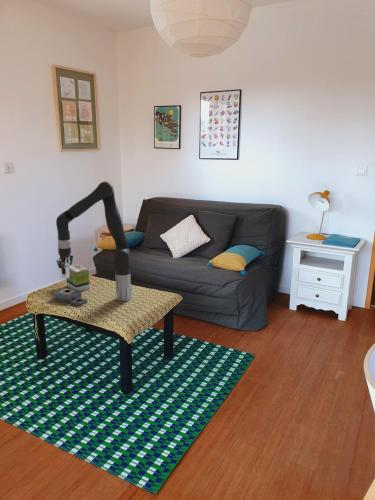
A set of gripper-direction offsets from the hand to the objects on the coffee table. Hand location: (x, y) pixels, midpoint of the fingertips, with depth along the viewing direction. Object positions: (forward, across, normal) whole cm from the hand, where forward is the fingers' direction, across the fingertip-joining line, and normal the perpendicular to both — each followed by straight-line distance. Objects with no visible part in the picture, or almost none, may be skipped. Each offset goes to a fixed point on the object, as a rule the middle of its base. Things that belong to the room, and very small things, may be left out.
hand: (65, 273), depth 241 cm
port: (+18, +1, 0) cm, 18 cm away
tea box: (+18, +20, +6) cm, 27 cm away
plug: (+3, 0, 0) cm, 3 cm away
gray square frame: (+17, -2, -11) cm, 21 cm away
